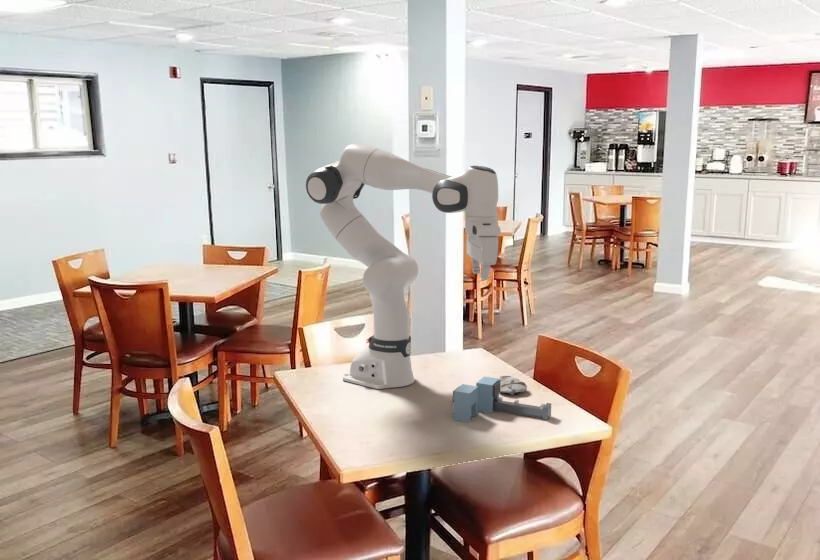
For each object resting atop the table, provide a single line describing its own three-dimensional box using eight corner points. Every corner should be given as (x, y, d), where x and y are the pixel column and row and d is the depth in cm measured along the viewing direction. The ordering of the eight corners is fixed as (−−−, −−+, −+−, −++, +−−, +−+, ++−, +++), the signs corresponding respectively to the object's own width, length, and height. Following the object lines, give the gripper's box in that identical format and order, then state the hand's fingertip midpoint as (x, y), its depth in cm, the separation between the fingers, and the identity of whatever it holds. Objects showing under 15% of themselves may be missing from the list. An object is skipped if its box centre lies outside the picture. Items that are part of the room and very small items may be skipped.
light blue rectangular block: (475, 410, 208) (476, 382, 206) (483, 403, 213) (484, 376, 212) (493, 413, 206) (494, 385, 204) (500, 406, 211) (501, 378, 210)
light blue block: (451, 419, 201) (451, 390, 200) (460, 411, 207) (460, 383, 205) (469, 422, 199) (469, 393, 198) (477, 414, 205) (478, 386, 203)
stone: (531, 396, 221) (532, 385, 220) (502, 398, 218) (503, 387, 218) (516, 383, 232) (516, 373, 231) (488, 385, 230) (488, 375, 229)
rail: (466, 407, 210) (466, 394, 210) (470, 403, 214) (471, 391, 213) (547, 420, 201) (547, 407, 200) (550, 416, 204) (551, 403, 203)
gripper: (461, 222, 214) (460, 270, 216) (478, 230, 194) (477, 283, 196) (483, 222, 215) (482, 270, 217) (502, 230, 195) (501, 282, 197)
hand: (480, 276), depth 207 cm, fingers open, 8 cm apart
